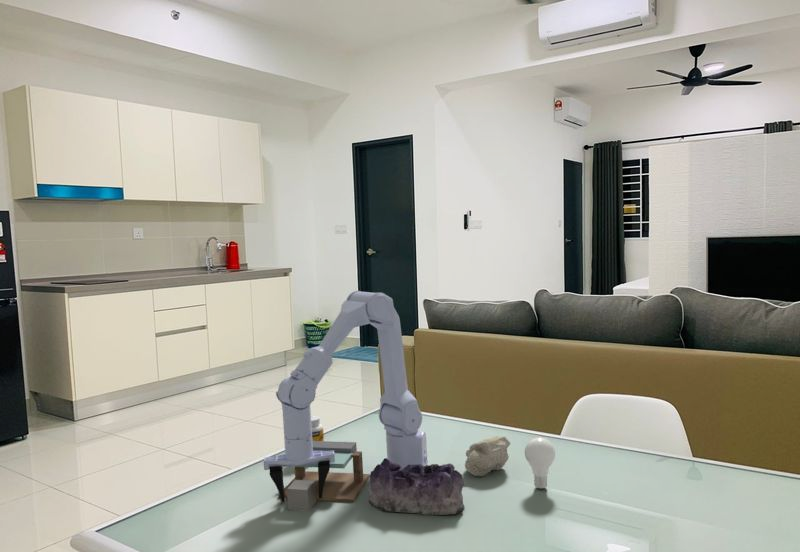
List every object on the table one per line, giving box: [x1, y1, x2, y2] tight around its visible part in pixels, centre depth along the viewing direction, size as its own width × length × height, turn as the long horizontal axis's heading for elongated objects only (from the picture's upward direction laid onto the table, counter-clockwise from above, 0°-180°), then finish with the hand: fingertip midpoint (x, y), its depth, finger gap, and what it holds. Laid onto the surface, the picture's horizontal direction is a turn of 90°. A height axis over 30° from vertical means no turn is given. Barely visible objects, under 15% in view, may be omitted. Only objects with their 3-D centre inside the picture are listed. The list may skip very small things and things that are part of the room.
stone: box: [286, 480, 317, 512], centre depth 123 cm, size 4×4×4 cm
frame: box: [277, 450, 371, 503], centre depth 131 cm, size 17×13×7 cm
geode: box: [368, 457, 465, 516], centre depth 121 cm, size 20×12×10 cm, turn 82°
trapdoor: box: [296, 440, 358, 470], centre depth 133 cm, size 12×11×2 cm
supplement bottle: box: [311, 415, 325, 441], centre depth 149 cm, size 6×6×10 cm
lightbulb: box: [524, 436, 556, 490], centre depth 126 cm, size 6×6×11 cm
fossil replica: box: [464, 435, 511, 477], centre depth 136 cm, size 12×8×10 cm
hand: (301, 498), depth 123 cm, fingers open, 7 cm apart
